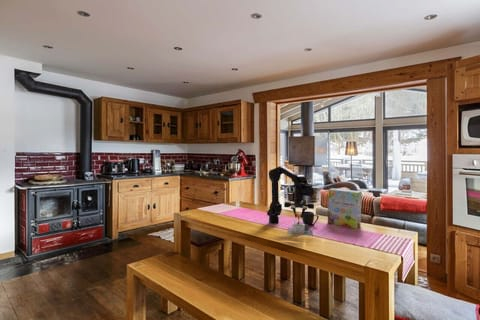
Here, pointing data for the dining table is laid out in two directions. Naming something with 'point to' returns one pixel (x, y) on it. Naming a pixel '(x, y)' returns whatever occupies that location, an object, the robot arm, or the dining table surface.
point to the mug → (309, 218)
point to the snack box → (344, 207)
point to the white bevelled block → (299, 227)
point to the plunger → (298, 216)
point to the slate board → (300, 233)
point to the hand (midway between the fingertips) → (298, 218)
